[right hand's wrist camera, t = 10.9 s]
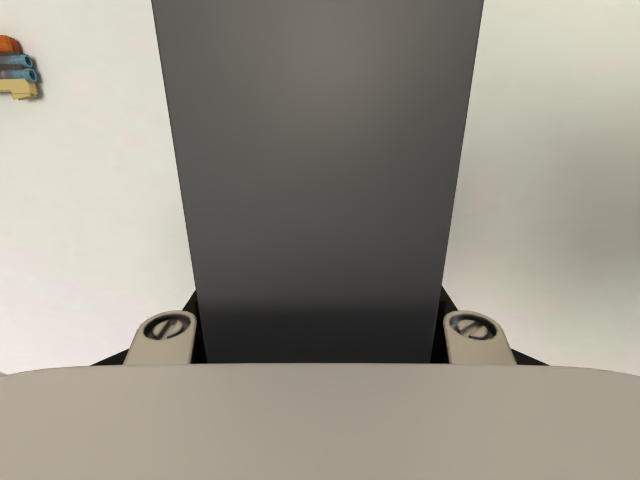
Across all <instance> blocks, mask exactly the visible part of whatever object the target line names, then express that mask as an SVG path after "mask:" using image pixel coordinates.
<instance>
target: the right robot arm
mask: <svg viewBox="0 0 640 480" xmlns="http://www.w3.org/2000/svg"><path fill="white" fill-rule="evenodd" d="M0 480H640V376H636V375H630V374H625V373H620V372H614V371H607V370H599V369H591V368H579V367H563V366H550V365H547V364H545V363H543V362H541V361H538V360H536V359H534V358H531V357H529V356H527V355H525V354H522V353H520V352H518V351H516V350H513V349H511V348H510V346H509V344H508V341H507V339H506V336H505V334H504V332H503V329H502V328H501V327H500V325H499V324H498V323H497V322H495V321H494V320H493V319H491V318H489V317H487V316H485V315H482V314H480V313H477V312H472V311H461V310H459V311H458V309H457V308H456V306H455V305H454V303H453V302H452V300H451V299H450V297H449V296H448V294H447V293H446V291H445V290H444V288H443V287H442V285H441V292H440V298H439V305H438V312H437V318H436V325H435V332H434V339H433V345H432V352H431V359H430V364H400V363H230V364H207V358H206V351H205V345H204V338H203V332H202V325H201V319H200V312H199V306H198V300H197V293H196V290H195V292H194V293H193V295H192V296H191V298H190V299H189V301H188V302H187V304H186V305H185V307H184V308H183V310H182V311H181V310H179V311H168V312H163V313H160V314H158V315H155V316H153V317H151V318H149V319H147V320H146V321H145V322H143V323H142V324H141V325H140V327H139V328H138V329H137V332H136V334H135V336H134V339H133V341H132V344H131V346H130V348H129V349H127V350H125V351H122V352H120V353H118V354H116V355H113V356H111V357H109V358H107V359H104V360H102V361H100V362H97V363H95V364H93V365H91V366H76V367H62V368H49V369H40V370H33V371H26V372H20V373H15V374H10V375H5V376H0Z"/></svg>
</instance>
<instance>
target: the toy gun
mask: <svg viewBox="0 0 640 480" xmlns="http://www.w3.org/2000/svg"><path fill="white" fill-rule="evenodd" d="M32 66H33V63H32V60H31V58H30V57H29V56H28V55H25V54H23V53H20V52H19V48H18V44H17V42H16V40H15V39H13V38H11V37H8V36H5V35H0V92H11V93H12V96H13V99H18V100H25V99H30V98H35V97H36V95H38V93H37V89H36V86H35V84H34V83H33V82H36V81H37V75H36V73H35V71H34V70H33V69H31V68H32Z"/></svg>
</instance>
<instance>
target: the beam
mask: <svg viewBox="0 0 640 480" xmlns="http://www.w3.org/2000/svg"><path fill="white" fill-rule="evenodd" d="M151 2H152V9H153V15H154V22H155V28H156V35H157V41H158V48H159V54H160V60H161V67H162V73H163V80H164V86H165V93H166V99H167V106H168V112H169V119H170V125H171V132H172V138H173V144H174V151H175V157H176V164H177V170H178V177H179V183H180V190H181V196H182V203H183V209H184V216H185V222H186V228H187V235H188V241H189V248H190V254H191V261H192V267H193V274H194V280H195V287H196V293H197V300H198V306H199V312H200V319H201V325H202V332H203V338H204V345H205V351H206V358H207V364H230V363H400V364H430V359H431V352H432V345H433V339H434V332H435V325H436V318H437V312H438V305H439V298H440V292H441V285H442V278H443V272H444V265H445V258H446V251H447V245H448V238H449V231H450V225H451V218H452V211H453V204H454V198H455V191H456V184H457V178H458V171H459V164H460V157H461V151H462V144H463V137H464V131H465V124H466V117H467V110H468V104H469V97H470V90H471V84H472V77H473V70H474V63H475V57H476V50H477V43H478V37H479V30H480V23H481V17H482V10H483V3H484V0H151Z"/></svg>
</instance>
